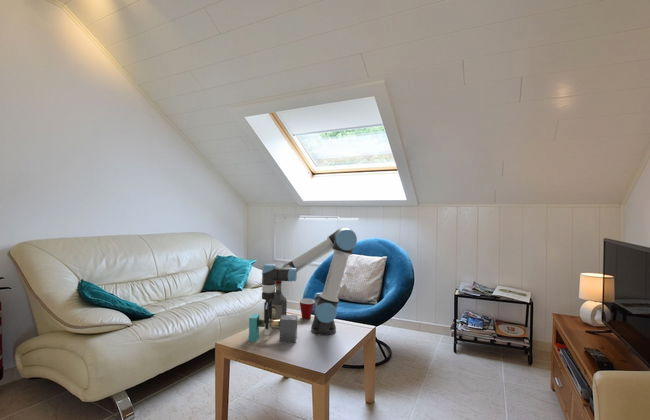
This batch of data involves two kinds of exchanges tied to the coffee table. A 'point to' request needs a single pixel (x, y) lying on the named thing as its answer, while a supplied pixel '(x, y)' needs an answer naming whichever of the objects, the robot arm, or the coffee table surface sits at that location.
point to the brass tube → (272, 322)
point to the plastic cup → (306, 307)
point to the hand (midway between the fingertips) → (267, 332)
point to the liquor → (278, 303)
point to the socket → (253, 328)
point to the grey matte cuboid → (288, 328)
